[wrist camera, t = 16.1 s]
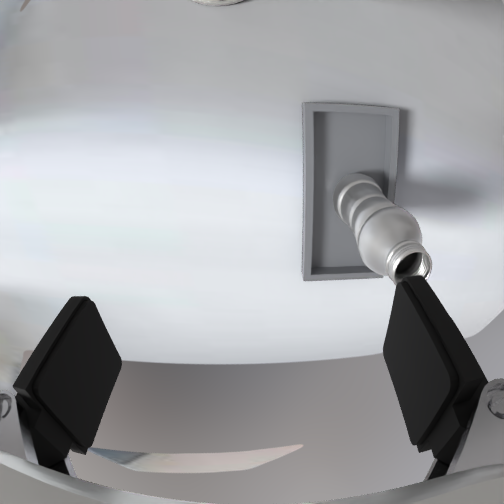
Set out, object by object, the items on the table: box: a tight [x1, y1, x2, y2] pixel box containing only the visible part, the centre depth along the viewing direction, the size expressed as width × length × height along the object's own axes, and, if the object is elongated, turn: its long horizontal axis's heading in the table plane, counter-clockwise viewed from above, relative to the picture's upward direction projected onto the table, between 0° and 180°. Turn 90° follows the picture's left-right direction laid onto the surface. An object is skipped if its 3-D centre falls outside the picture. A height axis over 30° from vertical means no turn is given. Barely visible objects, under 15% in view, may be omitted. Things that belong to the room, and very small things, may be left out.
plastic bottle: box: [333, 173, 432, 285], centre depth 31 cm, size 6×7×20 cm
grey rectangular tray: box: [302, 103, 399, 281], centre depth 40 cm, size 24×12×3 cm, turn 3°
